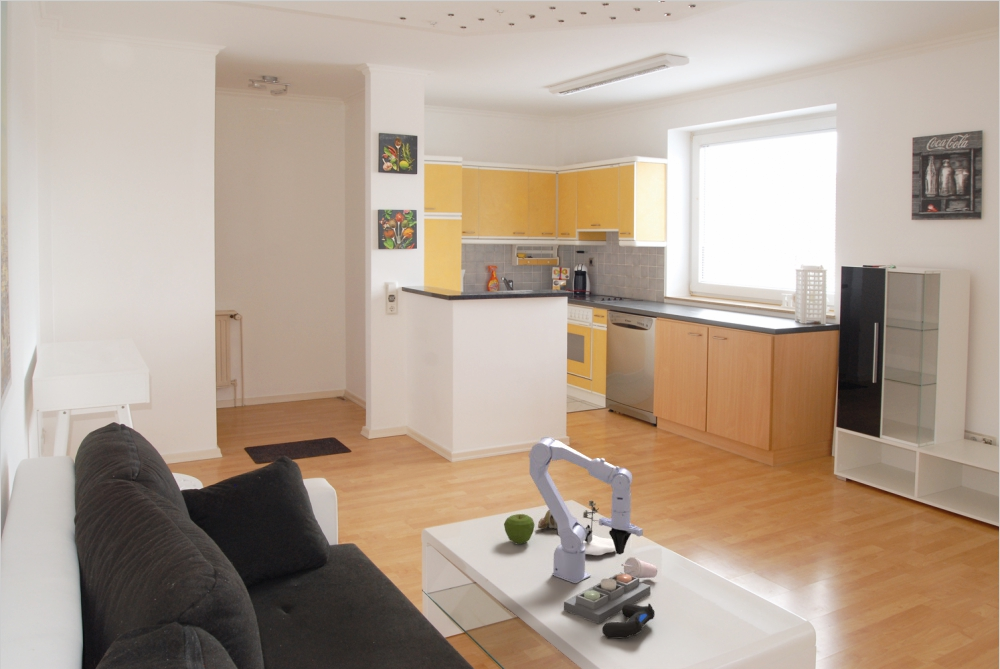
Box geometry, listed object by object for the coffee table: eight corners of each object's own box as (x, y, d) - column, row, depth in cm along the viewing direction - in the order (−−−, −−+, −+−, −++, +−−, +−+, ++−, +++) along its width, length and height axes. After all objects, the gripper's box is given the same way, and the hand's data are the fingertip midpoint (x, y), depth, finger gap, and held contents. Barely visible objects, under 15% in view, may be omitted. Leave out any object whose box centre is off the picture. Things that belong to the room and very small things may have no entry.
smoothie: (664, 570, 236) (632, 565, 229) (653, 586, 238) (621, 582, 230) (652, 556, 242) (620, 550, 234) (641, 572, 243) (610, 567, 235)
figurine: (609, 560, 251) (611, 510, 251) (556, 552, 259) (558, 503, 259) (625, 546, 270) (626, 499, 270) (574, 538, 277) (576, 493, 277)
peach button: (613, 583, 229) (613, 577, 229) (621, 579, 232) (622, 572, 232) (626, 587, 226) (626, 581, 226) (634, 583, 229) (634, 576, 229)
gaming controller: (607, 648, 202) (639, 638, 197) (597, 627, 203) (628, 617, 198) (632, 623, 216) (662, 613, 211) (622, 603, 217) (652, 593, 212)
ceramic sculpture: (573, 499, 289) (565, 514, 275) (573, 521, 291) (565, 537, 276) (545, 496, 292) (535, 511, 278) (545, 518, 294) (536, 534, 279)
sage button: (580, 600, 217) (580, 594, 217) (590, 595, 221) (590, 589, 220) (593, 605, 214) (593, 598, 214) (602, 600, 218) (603, 593, 217)
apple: (515, 534, 277) (515, 507, 276) (540, 541, 271) (540, 513, 269) (497, 543, 268) (498, 515, 267) (523, 550, 262) (523, 521, 261)
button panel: (563, 609, 218) (564, 594, 218) (616, 582, 237) (616, 567, 237) (598, 623, 210) (599, 608, 210) (650, 593, 229) (650, 579, 229)
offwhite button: (597, 588, 223) (597, 581, 223) (606, 583, 226) (606, 577, 226) (610, 593, 220) (610, 586, 220) (619, 588, 223) (619, 581, 223)
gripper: (648, 512, 232) (647, 555, 234) (608, 501, 242) (607, 543, 243) (635, 517, 227) (634, 562, 229) (595, 506, 237) (594, 549, 238)
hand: (619, 553), depth 236 cm, fingers closed
